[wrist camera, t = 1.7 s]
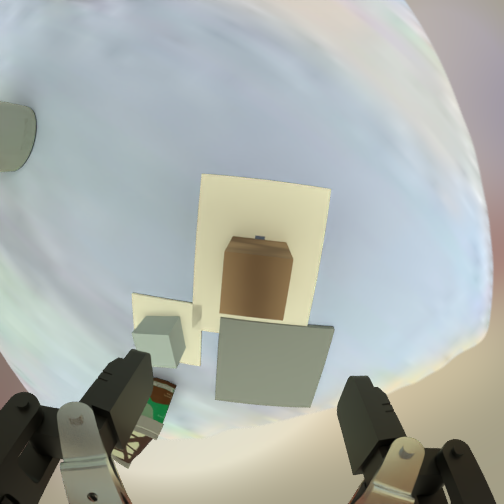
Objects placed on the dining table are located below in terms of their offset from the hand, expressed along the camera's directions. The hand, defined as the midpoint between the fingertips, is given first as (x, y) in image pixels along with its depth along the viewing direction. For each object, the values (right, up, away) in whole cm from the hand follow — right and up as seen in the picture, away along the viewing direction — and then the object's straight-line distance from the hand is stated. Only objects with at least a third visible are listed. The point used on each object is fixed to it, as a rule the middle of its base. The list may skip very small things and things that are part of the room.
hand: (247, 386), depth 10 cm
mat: (+2, -8, +20) cm, 21 cm away
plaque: (-9, -4, +19) cm, 21 cm away
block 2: (+1, +4, +16) cm, 17 cm away
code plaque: (+1, +4, +17) cm, 17 cm away
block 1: (-9, -4, +19) cm, 21 cm away
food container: (-14, -14, +22) cm, 30 cm away
